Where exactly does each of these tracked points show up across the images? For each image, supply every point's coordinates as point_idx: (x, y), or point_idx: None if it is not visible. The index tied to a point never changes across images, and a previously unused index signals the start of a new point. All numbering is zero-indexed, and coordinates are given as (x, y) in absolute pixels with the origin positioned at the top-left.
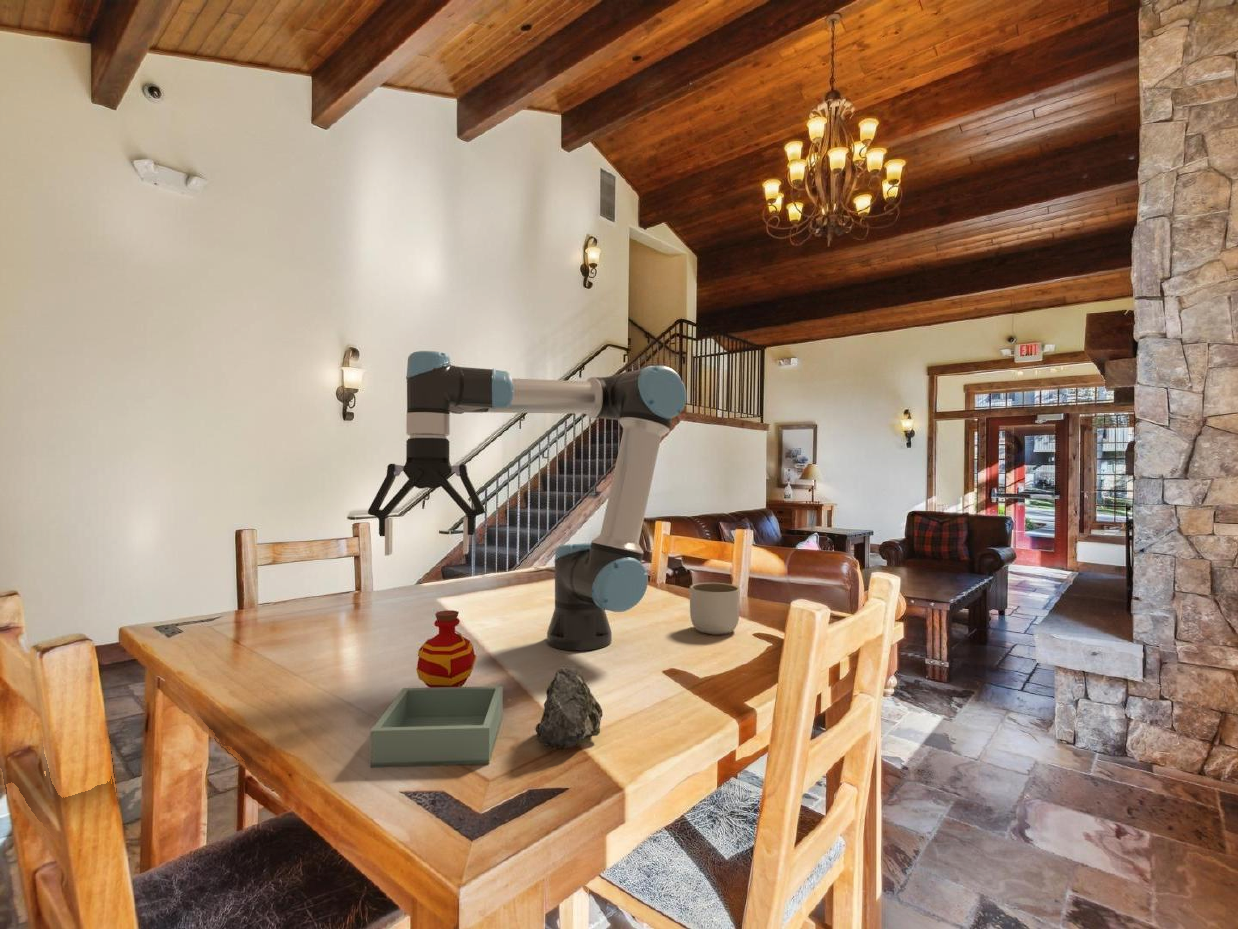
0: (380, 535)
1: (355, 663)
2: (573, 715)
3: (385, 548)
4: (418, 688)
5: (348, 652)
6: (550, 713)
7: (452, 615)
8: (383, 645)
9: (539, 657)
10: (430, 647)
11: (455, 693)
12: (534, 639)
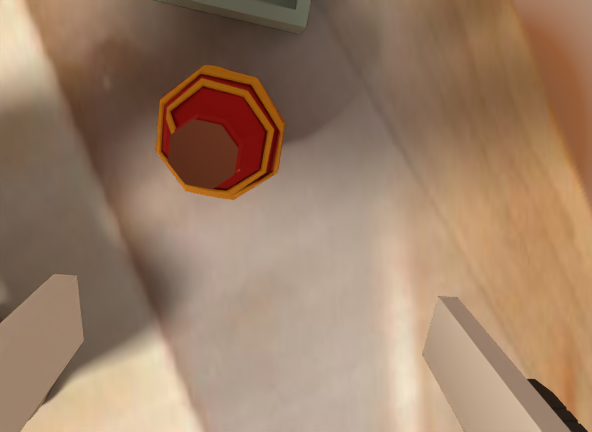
0: (536, 382)
1: (394, 325)
2: None
3: (471, 317)
4: (274, 15)
5: (407, 378)
6: None
7: (184, 126)
8: (353, 402)
9: None
10: (252, 103)
11: None
12: (80, 394)
